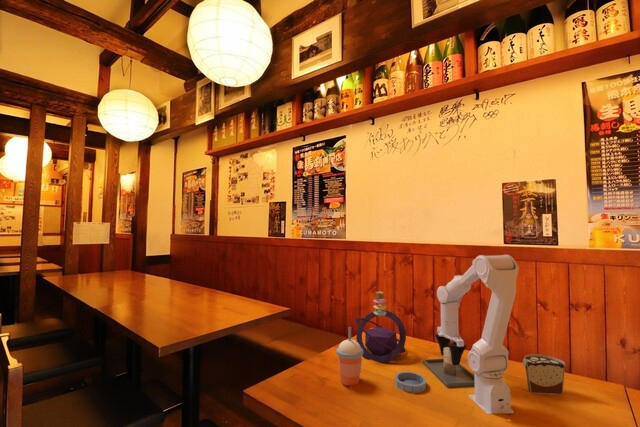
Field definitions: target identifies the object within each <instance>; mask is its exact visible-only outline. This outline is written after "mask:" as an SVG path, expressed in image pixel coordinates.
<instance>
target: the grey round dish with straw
mask: <svg viewBox="0 0 640 427" xmlns="http://www.w3.org/2000/svg"><path fill="white" fill-rule="evenodd" d="M347 330H348V336H347V337H348V338H347V339H344V340H343V341H341V342H340V343H339V346H338V347H337V348H336V349H335V350H336V351H335V352H336V355H337V356H338V358H337V359H338V360H337V361H338V363H337V364H338V370H339V377H340V383H341V384H342V385H344V386H346V387H350V386H354V385H357V384H359V382H360V380H361V379H360V377H361V371H362V370H361V368H362V363H363V362H362V357H363V349H362V348H361V347H360V345H359V343H358V342H357V340H354V339H352V327H351V326H349V327H348V329H347Z"/></svg>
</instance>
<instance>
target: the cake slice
mask: <svg viewBox="0 0 640 427" xmlns="http://www.w3.org/2000/svg"><path fill="white" fill-rule="evenodd" d="M522 365H523V367H524V368H525V373H526V382H527V383H526V384H527V389H528V392H529V393H530V394H535V395H536V394H537V395H556V396H557V395H559V396H563V395H564V386H565V385H564V384H565V383H564V382H565V369H566V370H568V368H567V364H566V362H565V361H563V360H562V359H559V358H556V357H554V356H549V355H546V354H540V353H539V354H538V353H531V354H530V353H529V354H526V355H525V356H524V358H523V359H522Z"/></svg>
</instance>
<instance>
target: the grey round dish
mask: <svg viewBox="0 0 640 427" xmlns="http://www.w3.org/2000/svg"><path fill="white" fill-rule="evenodd" d="M394 385H395V386H396V388H397V389H399V390H401V391H403V392H407V393H411V394H416V393H417V394H419V393H422V392H424V391H426V388H427V378H426V377H425V376H423V375H422V374H420V373H417V372H413V371H399V372H398V373H396V374H395V376H394Z"/></svg>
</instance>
